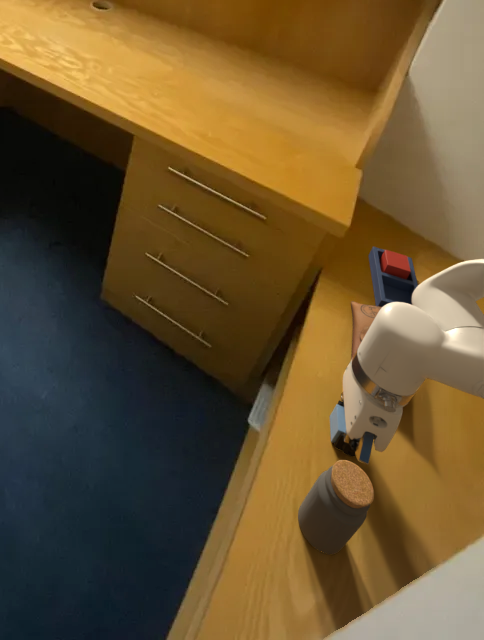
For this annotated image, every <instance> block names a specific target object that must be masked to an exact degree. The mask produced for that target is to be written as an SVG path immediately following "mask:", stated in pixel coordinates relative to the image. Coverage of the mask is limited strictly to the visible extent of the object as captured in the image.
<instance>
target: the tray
mask: <svg viewBox="0 0 484 640" xmlns="http://www.w3.org/2000/svg"><path fill="white" fill-rule="evenodd" d="M385 250H386V249H383V248H379V247H376V246H372V248H371V249H370V252H369V254H368V262H369V268H370V276H371V281H372V288H373V295H374V296H373V297H374V302H375V306H379V307H383V306H384V305H386V304H388V303H391V302H404V303H408V304H411V305H412V294H413V292H414V290H415V289H416V287H417V286H418V285H419V283H418V279H417V275H416V270H415V267H414V262H413V258H412V257H410V256H407V257H408V262H409V266H410V271H411V272H410V274H409V276H408V277H407V279H403V278H399V277H396V276H393V275H390V274H387V273H383V272H381V268H380V262H379V260H380V258H381V256H382V254H383V253H384V251H385Z"/></svg>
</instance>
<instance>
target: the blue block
mask: <svg viewBox="0 0 484 640" xmlns="http://www.w3.org/2000/svg"><path fill="white" fill-rule="evenodd" d="M329 431H330V432H329V433H330V442H331V443H333V444H335V442H336V440H337V438H338V437H339V435H340V434H341V432H344V433H345V431H346V422H345V410H344V407H343V406H340V405H338V404H337V403H336V404H335V406H334V408H333V409H332V411H331V413H330V415H329Z"/></svg>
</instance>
